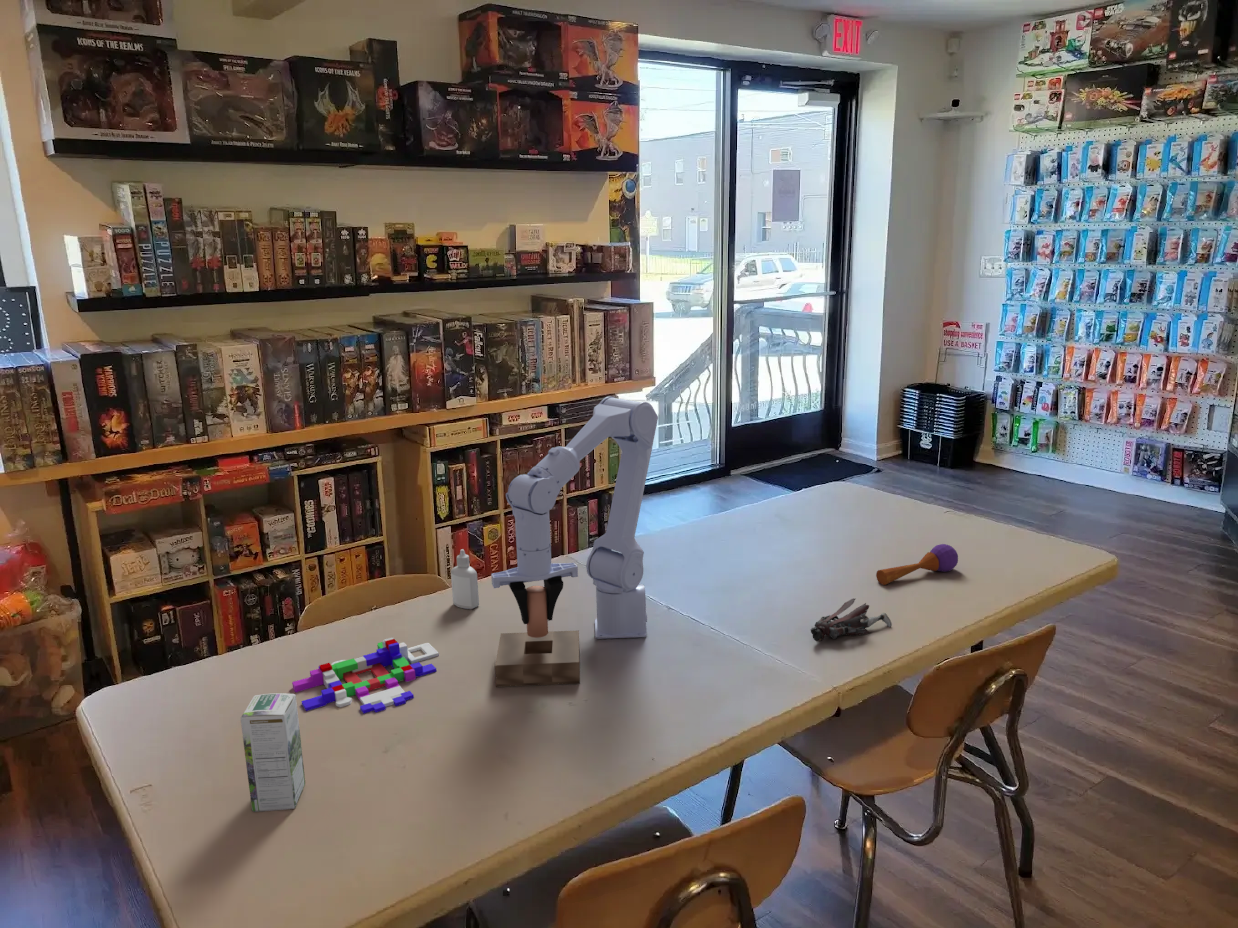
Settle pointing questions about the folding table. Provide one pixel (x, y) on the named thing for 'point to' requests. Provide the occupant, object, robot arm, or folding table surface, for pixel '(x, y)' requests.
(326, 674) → the building block set
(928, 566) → the purple and brown maraca
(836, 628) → the action figure
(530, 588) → the pin
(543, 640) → the socket block
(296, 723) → the syrup box
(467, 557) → the eye dropper bottle
